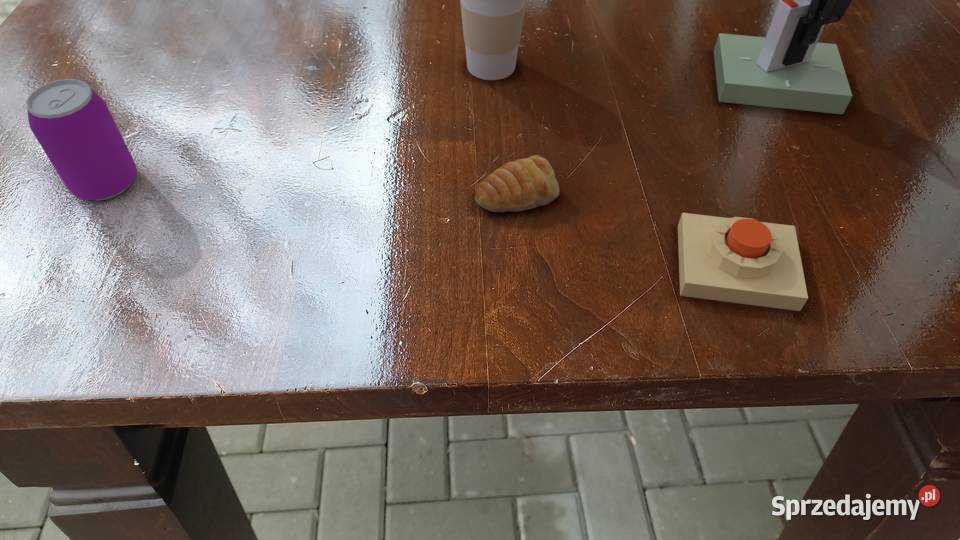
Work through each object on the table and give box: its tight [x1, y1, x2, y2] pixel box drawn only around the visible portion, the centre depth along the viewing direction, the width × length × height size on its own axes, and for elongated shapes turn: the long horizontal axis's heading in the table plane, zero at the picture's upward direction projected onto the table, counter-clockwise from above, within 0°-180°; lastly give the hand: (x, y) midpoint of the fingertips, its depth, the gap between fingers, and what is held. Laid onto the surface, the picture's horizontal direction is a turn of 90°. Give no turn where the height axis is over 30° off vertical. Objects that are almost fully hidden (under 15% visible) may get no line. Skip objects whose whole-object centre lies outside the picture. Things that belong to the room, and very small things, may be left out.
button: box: [727, 218, 772, 259], centre depth 70 cm, size 4×4×2 cm
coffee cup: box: [459, 0, 528, 81], centre depth 91 cm, size 9×9×15 cm
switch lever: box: [757, 0, 826, 72], centre depth 89 cm, size 7×2×9 cm, turn 112°
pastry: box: [474, 154, 560, 213], centre depth 79 cm, size 9×7×4 cm
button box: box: [677, 212, 809, 312], centre depth 72 cm, size 12×10×4 cm
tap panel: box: [713, 32, 853, 115], centre depth 94 cm, size 16×12×3 cm
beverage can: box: [25, 78, 138, 202], centre depth 76 cm, size 8×8×12 cm
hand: (785, 56), depth 92 cm, fingers closed on switch lever, 2 cm apart
